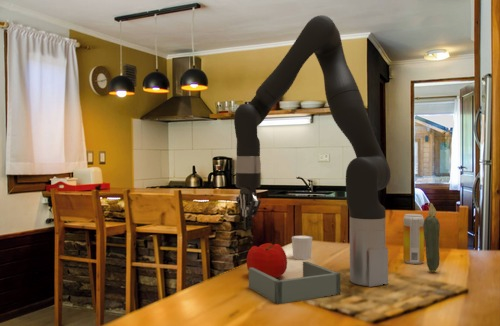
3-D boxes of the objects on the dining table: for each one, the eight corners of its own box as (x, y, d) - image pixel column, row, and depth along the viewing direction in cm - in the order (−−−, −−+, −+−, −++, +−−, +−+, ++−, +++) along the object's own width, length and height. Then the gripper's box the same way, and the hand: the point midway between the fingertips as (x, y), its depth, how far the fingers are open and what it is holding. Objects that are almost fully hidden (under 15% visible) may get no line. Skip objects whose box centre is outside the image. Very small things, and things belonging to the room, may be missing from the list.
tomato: (261, 270, 139) (261, 239, 139) (295, 277, 131) (295, 244, 131) (237, 277, 131) (237, 245, 130) (272, 285, 123) (272, 250, 123)
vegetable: (440, 274, 133) (441, 203, 133) (424, 274, 134) (424, 203, 134) (437, 271, 137) (438, 202, 137) (422, 270, 138) (422, 202, 138)
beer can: (421, 260, 151) (421, 213, 151) (426, 264, 145) (426, 216, 145) (401, 260, 152) (401, 213, 152) (405, 264, 146) (405, 215, 146)
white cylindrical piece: (313, 260, 152) (313, 238, 152) (292, 260, 152) (292, 238, 152) (311, 255, 159) (311, 235, 159) (290, 255, 159) (290, 235, 159)
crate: (340, 294, 115) (340, 273, 114) (277, 304, 107) (277, 282, 107) (306, 279, 128) (306, 261, 128) (248, 287, 121) (248, 267, 121)
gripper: (269, 172, 137) (269, 231, 138) (250, 170, 149) (249, 225, 150) (245, 172, 134) (245, 233, 134) (228, 170, 146) (227, 226, 146)
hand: (247, 229), depth 142 cm, fingers closed
